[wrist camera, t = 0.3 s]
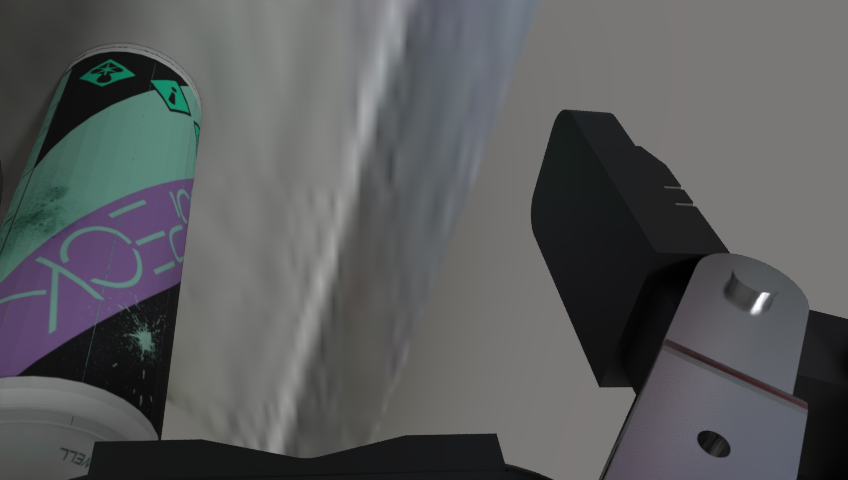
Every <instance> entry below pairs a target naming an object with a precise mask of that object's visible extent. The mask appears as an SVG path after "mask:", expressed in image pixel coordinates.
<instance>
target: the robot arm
mask: <svg viewBox="0 0 848 480" xmlns="http://www.w3.org/2000/svg"><path fill="white" fill-rule="evenodd" d="M2 186H3V179H2V168H1V162H0V204H1V198H2ZM531 224H532V230H533V233H534V236H535V238H536V241H537V243H538V246H539V248H540V250H541V253H542V255H543V257H544V260H545V262H546V264H547V266H548V269H549V271H550V273H551V276H552V278H553V280H554V283H555V285H556V287H557V290H558V292H559V294H560V297H561V299H562V301H563V304H564V306H565V308H566V311H567V313H568V315H569V317H570V320H571V322H572V324H573V327H574V329H575V332H576V334H577V336H578V338H579V341H580V343H581V345H582V348H583V350H584V353H585V355H586V357H587V359H588V362H589V364H590V366H591V369H592V371H593V373H594V376H595V378H596V380H597V383H598V385H599V387H632V388H633V390H634V392H635V394H636V397H635V399H634V402H633V403H632V405H631V408H630V410H629V412H628V414H627V416H626V419H625V421H624V423H623V426H622V428H621V430H620V432H619V435H618V437H617V439H616V441H615V444H614V446H613V448H612V450H611V453H610V455H609V457H608V459H607V462H606V464H605V466H604V469H603V471H602V473H601V475H600V478H599V480H848V319H845V318H841V317H837V316H833V315H829V314H825V313H821V312H817V311H813V310H809V304H808V301H807V298H806V296H805V295H804V293H803V292H802V290H801V289H800V288H799V287H798V286H797V285H796V284H795V282H793V281H792V280H791V279H790V278H789V277H788V276H786V275H785V274H783V273H782V272H780V271H779V270H777V269H775V268H774V267H772V266H770V265H768V264H766V263H763V262H761V261H759V260H756V259H753V258H750V257H747V256H743V255H738V254H731V253H730V252H729V251H728V249H727V248H726V247H725V245H724V244H723V243H722V241H721V240H720V238H719V237H718V236H717V234H716V233H715V232H714V230H713V229H712V228H711V226H710V225H709V223H708V222H707V221H706V219H705V218H704V217H703V215H702V214H701V213H700V211H699V210H698V208H697V207H694V206H693V201H692V200H691V199H690V197H689V196H688V195H687V193H686V192H685V190H681V185H680V184H679V182H678V181H677V180H676V178H675V177H674V175H673V174H672V173H671V171H670V170H669V169H668V168H667V166H666V165H665V164H664V163H663V162H661V161H660V160H658V159H657V158H656V157H654V156H653V155H652V154H650V153H649V152H648V151H646V150H645V149H644V148H642V147H641V146H635V145H634V143H633V142H632V140H631V139H630V137H629V136H628V135H627V133H626V132H625V130H624V129H623V127H622V126H621V124H620V123H619V122H618V120H617V119H616V117H615V116H614V115H613V114H611V113H605V112H592V111H578V110H562V111H561V112H560V113H559V114H558V116H557V118H556V120H555V122H554V125H553V128H552V131H551V135H550V138H549V142H548V145H547V149H546V152H545V156H544V159H543V163H542V166H541V169H540V173H539V176H538V180H537V183H536V187H535V190H534V194H533V198H532V205H531ZM68 480H553V479H551V478H548V477H546V476H543V475H541V474H539V473H536V472H533V471H530V470H527V469H523V468H520V467H517V466H513V465H509V464H505V462H504V459H503V455H502V452H501V448H500V445H499V441H498V437H497V434H455V435H454V434H452V435H406V436H401V437H398V438H393V439H389V440H385V441H381V442H377V443H373V444H369V445H365V446H361V447H357V448H353V449H349V450H345V451H340V452H336V453H332V454H328V455H324V456H320V457H315V458H296V457H291V456H286V455H280V454H275V453H270V452H265V451H260V450H254V449H249V448H244V447H239V446H233V445H228V444H223V443H218V442H213V441H207V440H202V439H200V440H147V441H96V442H94V447H93V452H92V456H91V461H90V466H89V470H88V474H87V475H83V476H79V477H75V478H71V479H68Z"/></svg>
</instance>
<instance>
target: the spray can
mask: <svg viewBox="0 0 848 480" xmlns="http://www.w3.org/2000/svg"><path fill="white" fill-rule="evenodd" d="M201 112H202V111H201V100H200V97H199V94H198V91H197V88H196V87H195V85H194V83H193V82H192V80H191V78H190V77H189V76H188V75H187V73H186V72H185V71H184V70H183V69H182V68H181V67H180V66H179V65H178V64H176V63H175V62H174V61H173V60H171V59H170V58H168V57H166V56H165V55H163V54H161V53H159V52H157V51H155V50H152V49H149V48H147V47H143V46H138V45H133V44H117V43H115V44H108V45H102V46H99V47H96V48H93V49H90V50H88V51H86V52H85V53H83V54H81V55H80V56H78V57H77V58H76V59H75V60H74V61H73V62H72V63H71V64H70V65H69V66H68V68H67V70H66V71H65V73H64V75H63V77H62V78H61V80H60V82H59V84H58V87H57V89H56V92H55V94H54V97H53V99H52V102H51V104H50V107H49V109H48V112H47V114H46V117H45V119H44V122H43V124H42V126H41V129H40V131H39V134H38V136H37V139H36V141H35V144H34V146H33V149H32V151H31V154H30V156H29V159H28V161H27V164H26V166H25V169H24V171H23V173H22V176H21V178H20V181H19V183H18V186H17V188H16V191H15V193H14V196H13V198H12V201H11V203H10V206H9V208H8V211H7V213H6V216H5V218H4V220H3V223H2V225H1V228H0V480H68V479H71V478H75V477H79V476H83V475H87V474H88V470H89V466H90V461H91V456H92V452H93V447H94V442H96V441H147V440H161V435H162V427H163V419H164V411H165V403H166V395H167V387H168V379H169V371H170V363H171V356H172V348H173V340H174V332H175V324H176V316H177V308H178V300H179V292H180V284H181V276H182V268H183V260H184V252H185V244H186V236H187V229H188V221H189V213H190V205H191V197H192V189H193V181H194V173H195V165H196V157H197V149H198V141H199V133H200V125H201Z"/></svg>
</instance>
